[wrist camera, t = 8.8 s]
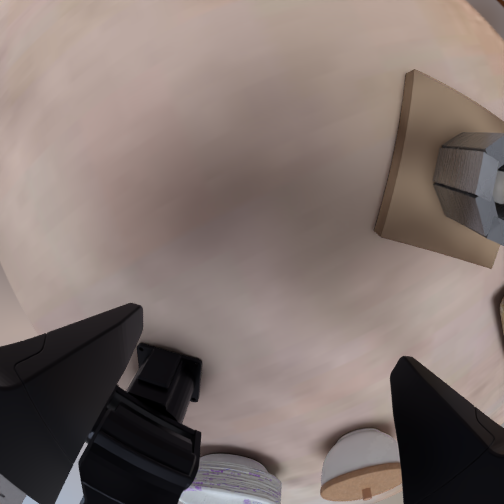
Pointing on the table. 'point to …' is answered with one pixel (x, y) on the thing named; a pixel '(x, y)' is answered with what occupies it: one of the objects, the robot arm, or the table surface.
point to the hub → (472, 182)
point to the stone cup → (502, 313)
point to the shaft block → (423, 167)
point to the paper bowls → (232, 482)
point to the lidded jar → (361, 466)
